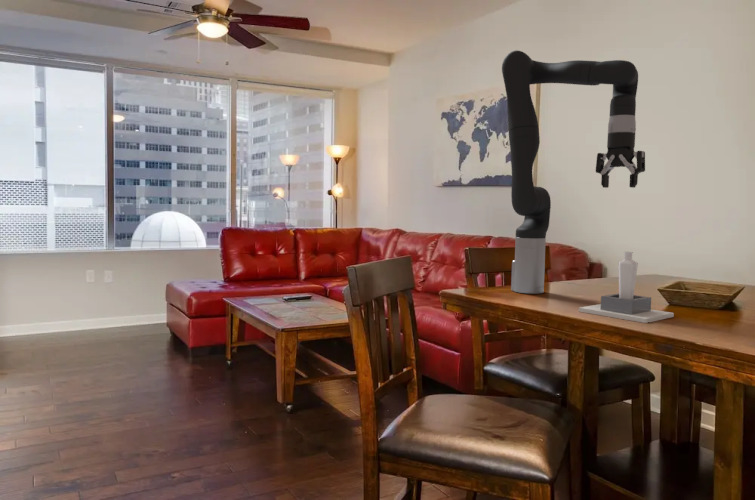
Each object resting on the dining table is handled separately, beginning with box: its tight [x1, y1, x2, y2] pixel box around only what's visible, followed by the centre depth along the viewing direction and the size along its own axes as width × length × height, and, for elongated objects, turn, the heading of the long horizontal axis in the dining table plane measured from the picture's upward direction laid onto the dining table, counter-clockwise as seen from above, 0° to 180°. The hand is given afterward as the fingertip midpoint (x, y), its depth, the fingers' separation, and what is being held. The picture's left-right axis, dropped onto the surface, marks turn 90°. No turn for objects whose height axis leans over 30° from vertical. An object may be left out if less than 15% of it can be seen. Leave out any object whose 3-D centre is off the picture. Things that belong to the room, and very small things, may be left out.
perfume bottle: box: [618, 251, 638, 300], centre depth 152 cm, size 5×4×15 cm
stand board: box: [578, 303, 675, 324], centre depth 153 cm, size 18×14×1 cm
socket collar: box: [600, 292, 652, 315], centre depth 153 cm, size 8×9×4 cm
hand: (618, 187), depth 176 cm, fingers open, 8 cm apart
